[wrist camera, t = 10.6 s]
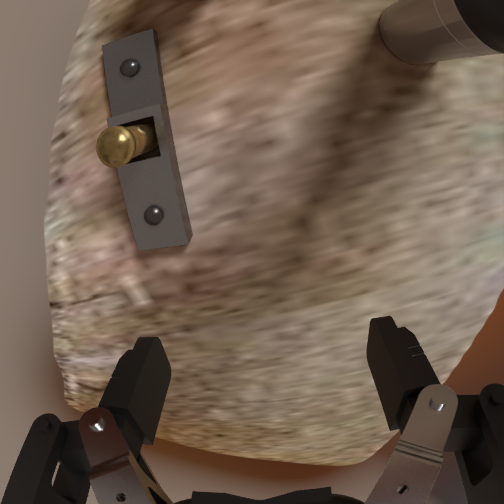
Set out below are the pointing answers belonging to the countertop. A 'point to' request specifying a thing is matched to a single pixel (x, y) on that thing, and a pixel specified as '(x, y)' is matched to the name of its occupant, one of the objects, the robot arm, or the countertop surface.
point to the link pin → (125, 143)
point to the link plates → (165, 164)
